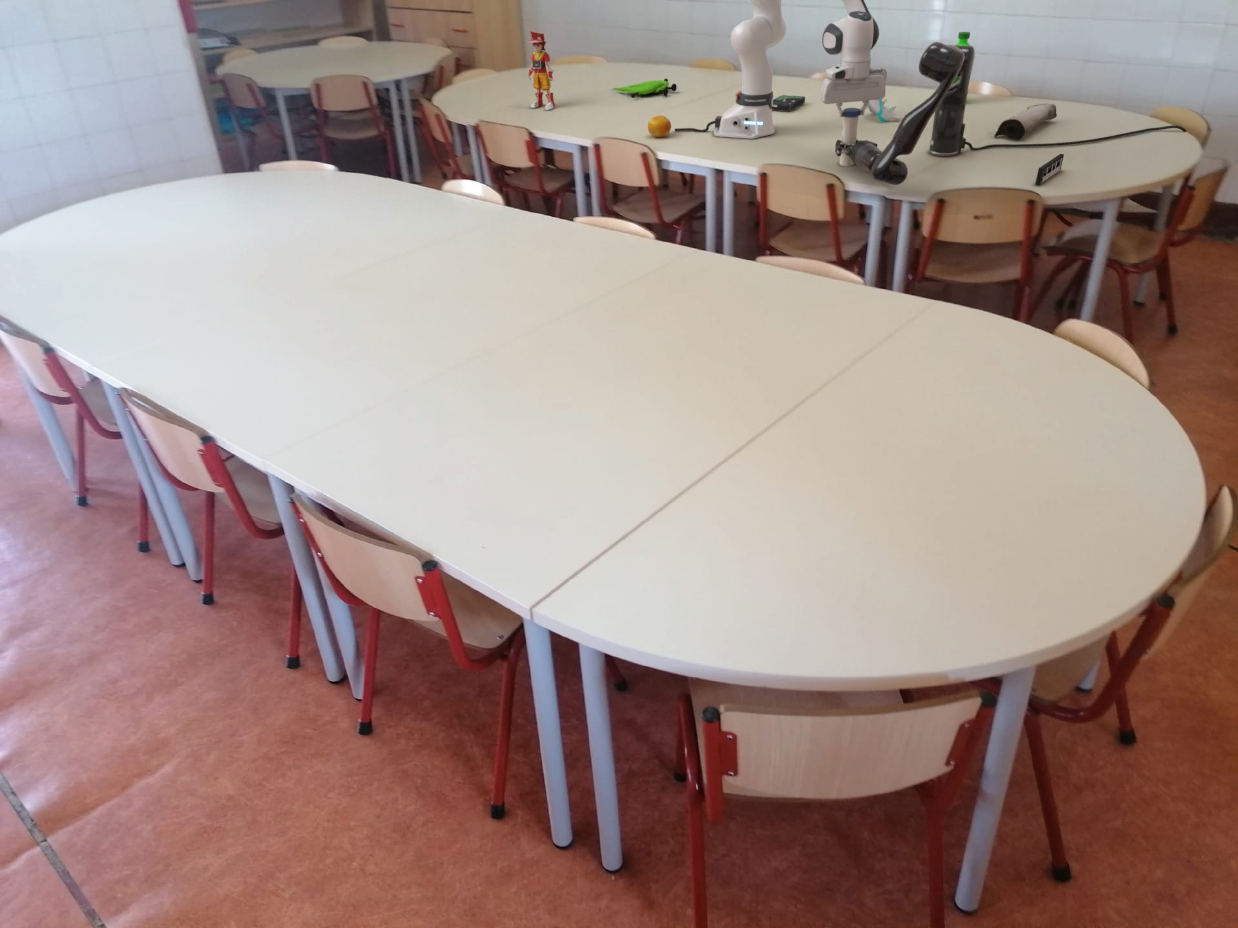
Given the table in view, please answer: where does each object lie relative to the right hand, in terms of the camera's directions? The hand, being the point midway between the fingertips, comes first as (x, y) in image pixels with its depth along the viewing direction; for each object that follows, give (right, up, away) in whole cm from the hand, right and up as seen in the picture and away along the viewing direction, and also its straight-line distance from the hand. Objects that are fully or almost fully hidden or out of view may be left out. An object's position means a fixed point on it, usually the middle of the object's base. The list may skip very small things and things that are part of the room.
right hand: (845, 142), depth 295 cm
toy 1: (-107, +46, +88) cm, 146 cm away
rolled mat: (+70, +13, +23) cm, 75 cm away
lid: (0, +7, -8) cm, 11 cm away
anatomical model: (+25, +26, +46) cm, 59 cm away
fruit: (-59, +17, +41) cm, 74 cm away
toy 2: (-65, +59, +102) cm, 134 cm away
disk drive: (-7, +38, +67) cm, 78 cm away
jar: (+1, -7, +2) cm, 7 cm away
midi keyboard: (+57, -18, -20) cm, 63 cm away
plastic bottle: (+58, +37, +60) cm, 91 cm away
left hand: (0, +6, -7) cm, 9 cm away
